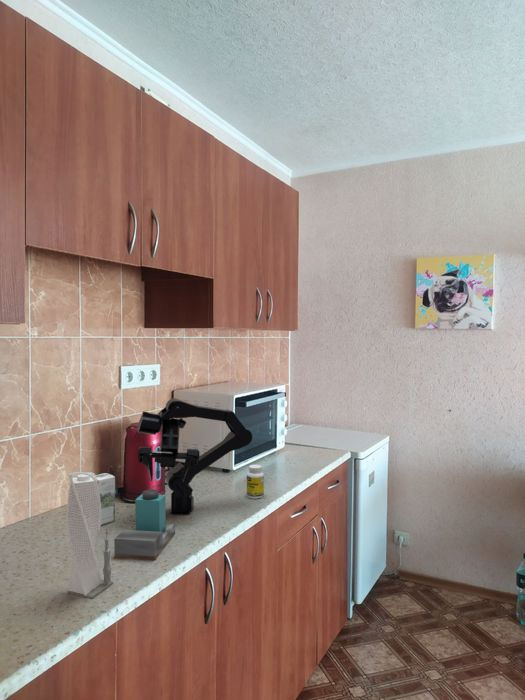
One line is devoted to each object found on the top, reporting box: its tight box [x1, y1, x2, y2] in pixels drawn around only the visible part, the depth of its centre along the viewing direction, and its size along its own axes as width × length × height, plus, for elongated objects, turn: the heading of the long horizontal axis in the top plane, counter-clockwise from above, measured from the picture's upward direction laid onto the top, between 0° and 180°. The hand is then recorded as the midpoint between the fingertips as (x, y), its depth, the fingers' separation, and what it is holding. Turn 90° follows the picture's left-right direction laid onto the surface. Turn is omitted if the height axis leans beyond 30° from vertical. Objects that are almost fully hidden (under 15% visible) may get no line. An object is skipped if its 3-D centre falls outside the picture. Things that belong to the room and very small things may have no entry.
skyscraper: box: [66, 471, 114, 600], centre depth 112 cm, size 8×8×28 cm
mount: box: [113, 523, 176, 561], centre depth 136 cm, size 17×11×5 cm, turn 172°
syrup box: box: [95, 472, 116, 526], centre depth 152 cm, size 6×6×14 cm
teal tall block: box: [134, 488, 167, 533], centre depth 139 cm, size 5×7×13 cm
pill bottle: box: [246, 464, 265, 500], centre depth 176 cm, size 6×6×11 cm
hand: (167, 480), depth 148 cm, fingers open, 9 cm apart
